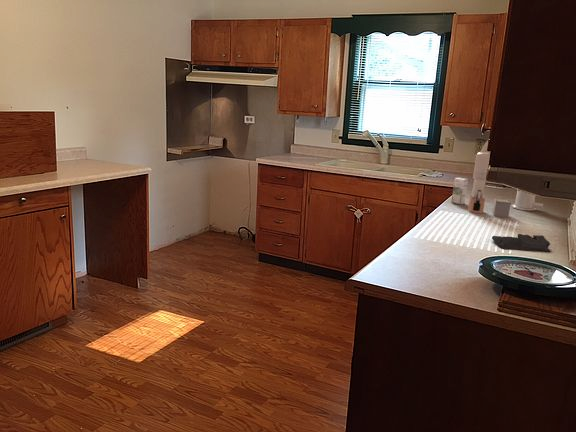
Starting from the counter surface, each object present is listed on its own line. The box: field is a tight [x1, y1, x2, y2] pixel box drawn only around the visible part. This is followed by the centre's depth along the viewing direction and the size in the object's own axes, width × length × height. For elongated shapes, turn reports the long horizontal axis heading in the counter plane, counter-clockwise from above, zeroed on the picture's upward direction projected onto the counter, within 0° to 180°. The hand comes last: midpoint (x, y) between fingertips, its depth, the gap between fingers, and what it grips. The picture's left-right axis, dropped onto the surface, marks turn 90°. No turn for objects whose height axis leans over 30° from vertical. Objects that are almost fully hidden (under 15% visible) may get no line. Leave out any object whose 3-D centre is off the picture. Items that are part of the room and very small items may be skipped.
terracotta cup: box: [467, 194, 486, 214], centre depth 268 cm, size 7×7×8 cm
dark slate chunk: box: [491, 233, 553, 253], centre depth 208 cm, size 15×22×5 cm
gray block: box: [492, 198, 512, 219], centre depth 261 cm, size 7×7×8 cm
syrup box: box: [451, 177, 469, 205], centre depth 286 cm, size 6×6×14 cm
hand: (475, 208), depth 268 cm, fingers closed on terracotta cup, 7 cm apart
